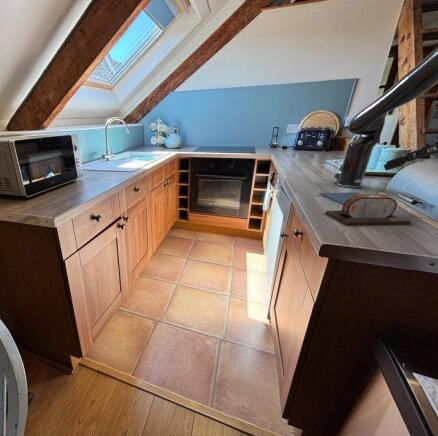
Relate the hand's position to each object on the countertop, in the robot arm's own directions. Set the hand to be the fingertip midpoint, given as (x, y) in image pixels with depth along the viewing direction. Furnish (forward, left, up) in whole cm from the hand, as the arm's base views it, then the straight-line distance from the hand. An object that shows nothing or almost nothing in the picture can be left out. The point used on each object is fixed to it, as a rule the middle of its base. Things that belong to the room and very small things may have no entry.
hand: (385, 166), depth 81 cm
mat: (-16, +5, -16) cm, 23 cm away
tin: (+6, -6, -17) cm, 19 cm away
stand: (+6, -6, -16) cm, 19 cm away
